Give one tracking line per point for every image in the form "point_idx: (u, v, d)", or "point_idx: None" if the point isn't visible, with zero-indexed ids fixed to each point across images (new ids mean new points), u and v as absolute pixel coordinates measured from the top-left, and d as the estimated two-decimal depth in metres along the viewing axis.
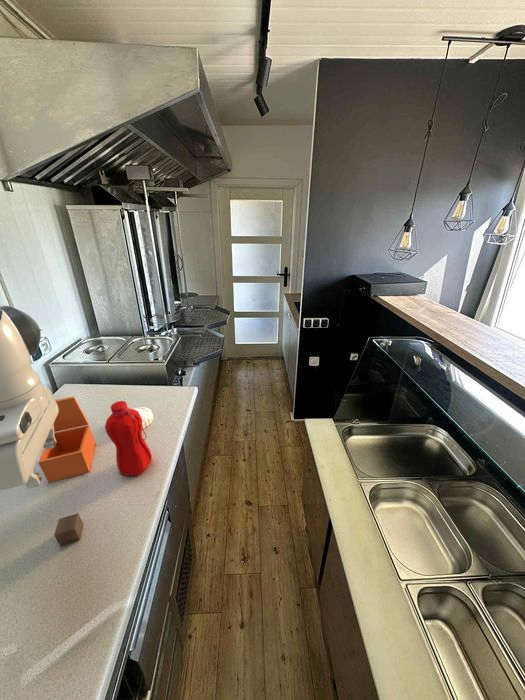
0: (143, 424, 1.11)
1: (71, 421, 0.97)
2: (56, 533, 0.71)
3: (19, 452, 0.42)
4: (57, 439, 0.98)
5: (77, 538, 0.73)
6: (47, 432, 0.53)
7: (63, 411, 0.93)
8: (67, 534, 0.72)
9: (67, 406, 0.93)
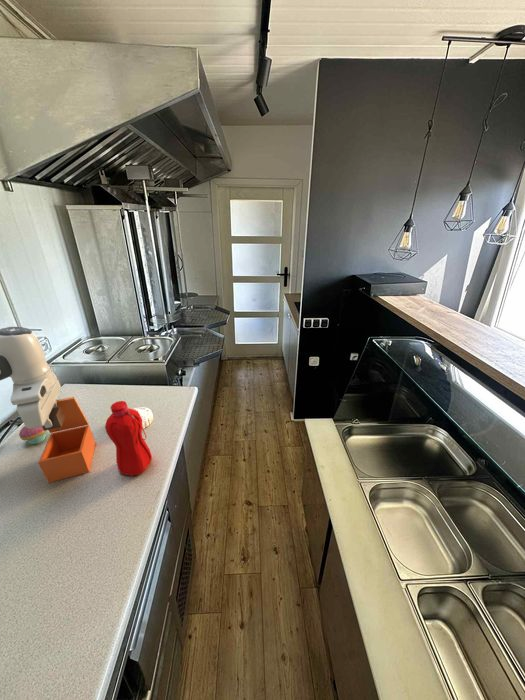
0: (143, 424, 1.11)
1: (71, 421, 0.97)
2: None
3: (40, 407, 0.76)
4: (57, 439, 0.98)
5: (59, 425, 0.86)
6: (54, 400, 0.87)
7: (63, 411, 0.93)
8: None
9: (67, 406, 0.92)
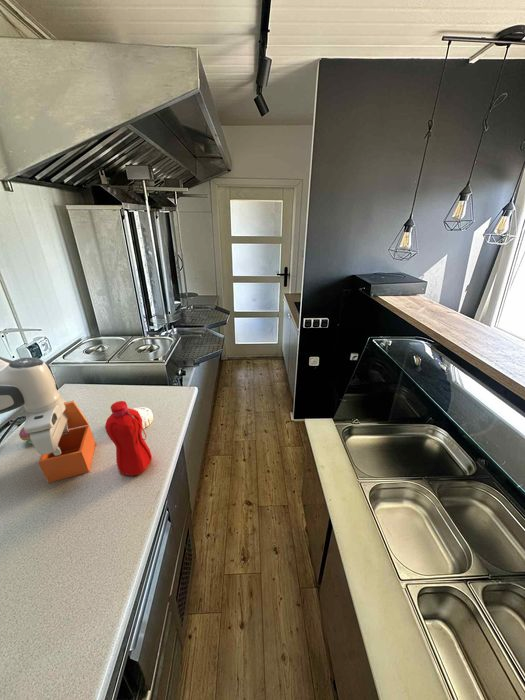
0: (143, 424, 1.11)
1: (71, 422, 0.97)
2: None
3: (51, 434, 0.79)
4: None
5: None
6: (64, 425, 0.90)
7: None
8: None
9: (67, 410, 0.92)
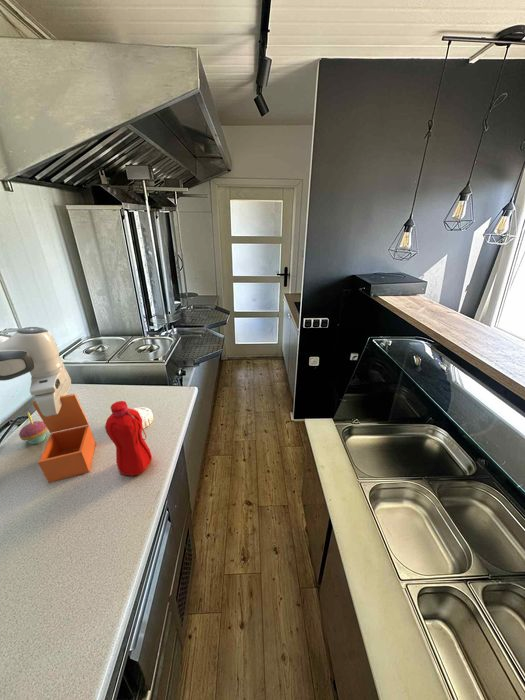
0: (143, 424, 1.11)
1: (71, 420, 0.97)
2: None
3: (55, 397, 0.86)
4: (57, 439, 0.98)
5: None
6: (66, 393, 0.97)
7: (63, 409, 0.94)
8: None
9: (67, 404, 0.93)
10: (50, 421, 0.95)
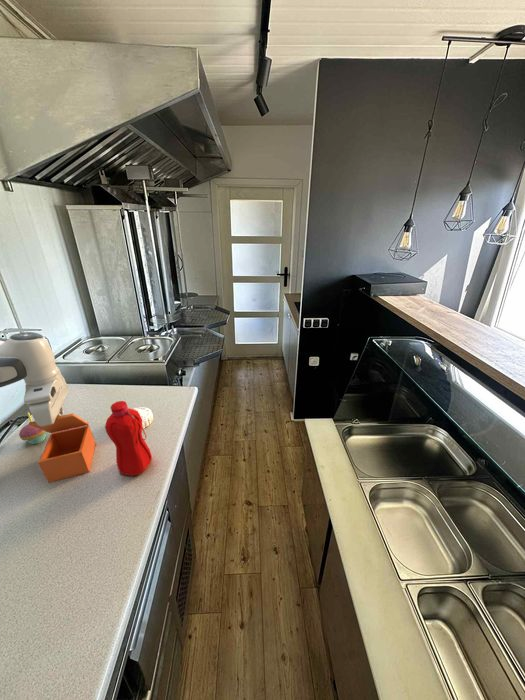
0: (143, 424, 1.11)
1: (71, 425, 0.96)
2: None
3: (50, 406, 0.82)
4: (57, 439, 0.98)
5: None
6: (62, 400, 0.93)
7: (62, 422, 0.91)
8: None
9: (66, 420, 0.90)
10: (49, 429, 0.93)
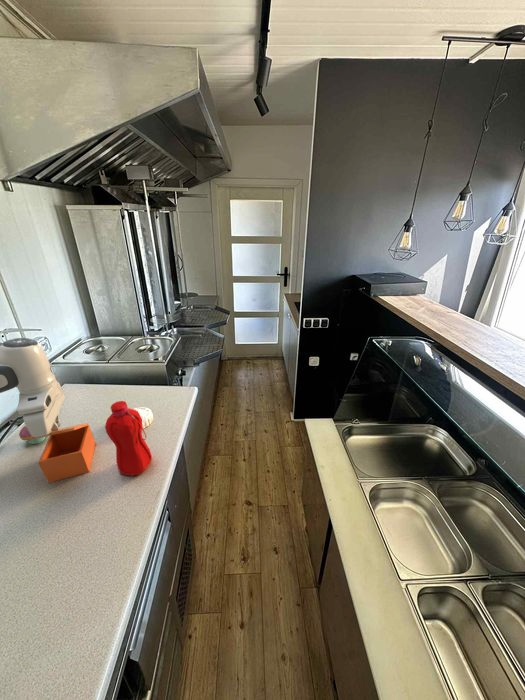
0: (143, 424, 1.11)
1: None
2: None
3: (45, 416, 0.78)
4: (57, 439, 0.98)
5: None
6: (58, 409, 0.89)
7: None
8: None
9: None
10: None
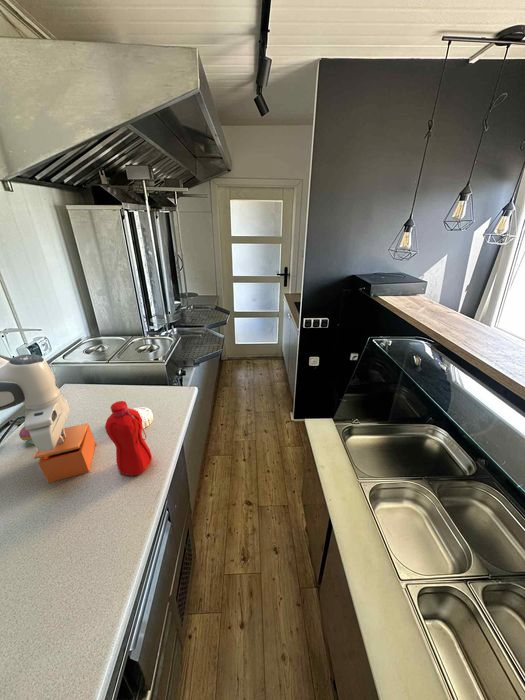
0: (143, 424, 1.11)
1: None
2: None
3: (51, 431, 0.80)
4: None
5: None
6: (64, 422, 0.90)
7: None
8: None
9: None
10: None
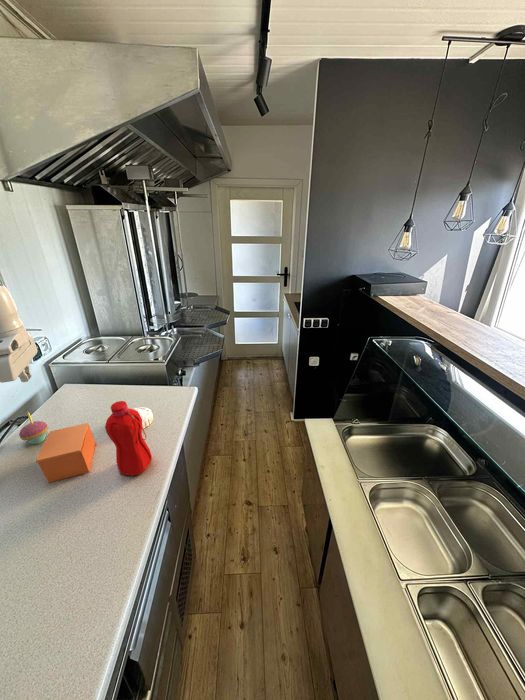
0: (143, 424, 1.11)
1: None
2: None
3: (10, 360, 0.75)
4: None
5: None
6: (29, 359, 0.86)
7: None
8: None
9: None
10: None
